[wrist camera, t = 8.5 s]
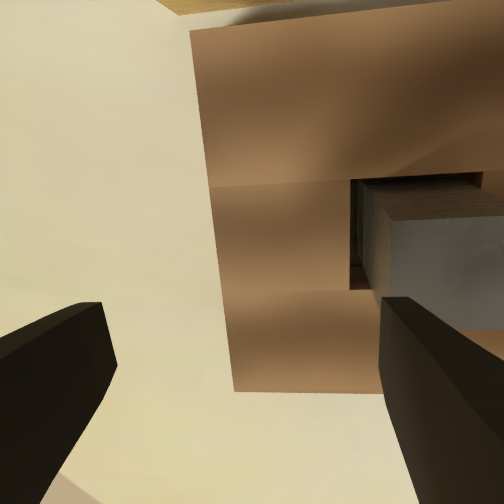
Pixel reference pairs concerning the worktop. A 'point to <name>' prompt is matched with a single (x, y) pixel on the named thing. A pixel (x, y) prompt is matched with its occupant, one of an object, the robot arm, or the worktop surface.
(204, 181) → the worktop surface
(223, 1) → the block
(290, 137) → the plate
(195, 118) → the worktop surface
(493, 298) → the square bit
